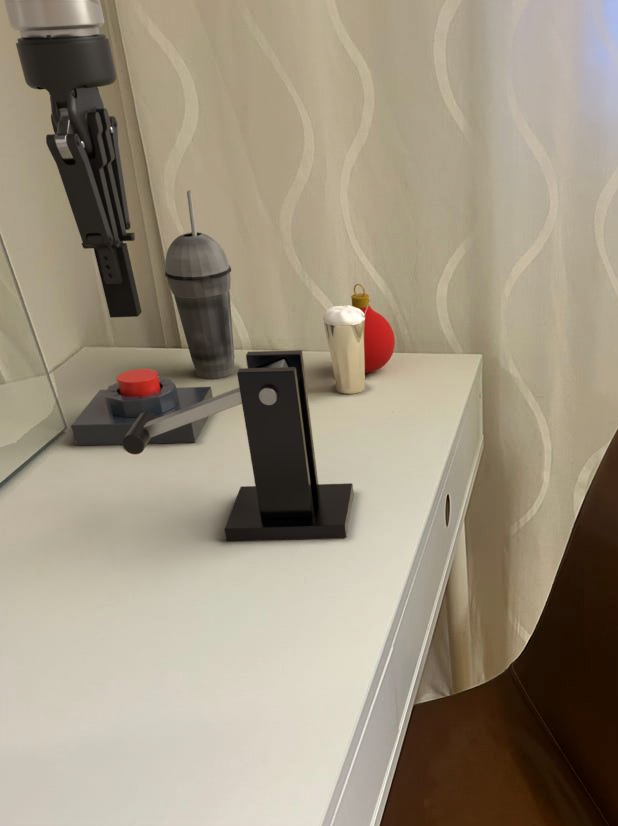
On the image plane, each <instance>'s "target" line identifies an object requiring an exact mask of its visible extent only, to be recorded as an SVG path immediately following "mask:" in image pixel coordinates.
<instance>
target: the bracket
mask: <svg viewBox="0 0 618 826" xmlns="http://www.w3.org/2000/svg"><path fill="white" fill-rule="evenodd" d="M283 359H284V360H285V361H286V363H287V366H288V367H280V368H262V367H265V366H267V365H270V364H273V363H275V362H278V361H281V360H283ZM245 360H246V367H244V368H238V370H237V373H236V374H237V381H238V386H239V387H238V388H240V394H241V400H242V404H241V405H242V406H241V407H242V412H243V413H242V414H243V418H244V425H245V430H246V431H245V432H246V436H247V442H248V450H249V454H250V461H251V467H252V473H253V478H254V479H253V481H254V485H249V486H246V485H245V486H243V485H242V486H240V488H239V490H238V493H237V495H236V498H235V500H234V503H233V505H232V508H231V510H230V513H229V515H228V517H227V520H226V524H225V525H224V528H223V531H224V536H225V540H226V542H244V541H245V542H246V541H247V542H249V541H251V542H252V541H279V540H281V541H282V540H285V541H286V540H313V539H314V540H315V539H317V540H318V539H319V540H320V539H346V538H347V535H348V531H349V530H348V529H349V524H350V517H351V513H352V506H353V500H354V495H355V494H354V485H353V483H351V482H350V483H319V478H318V471H317V463H316V462H317V461H316V454H315V445H314V438H313V437H314V436H313V429H312V421H311V420H312V419H311V413H310V404H309V403H310V402H309V396H308V387H307V381H306V379H307V378H306V372H305V363H304V355H303V350H301V349H300V350H299V349H298V350H263V351H261V350H260V351H258V350H257V351H247V353H246V354H245Z"/></svg>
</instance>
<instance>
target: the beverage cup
mask: <svg viewBox="0 0 618 826" xmlns="http://www.w3.org/2000/svg"><path fill="white" fill-rule="evenodd" d="M186 197H187V205H188V212H189V220H190V221H189V223H190V229H191V231H189V232H185V233H182V234H180V235H179V236H177V237H176V238H174V239H173V241H172V242H171V243H170V245H169V247H168V248H167V251H166V255H165V259H164V260H165V261H164V262H165V263H164V267H165V268H164V269H165V272H164V277H166V278H167V282H168V286H169V289H170V291H171V293H172V294H173V297H174V300H175V305H176V308H177V311H178V315H179V319H180V322H181V326H182V329H183V333H184V337H185V340H186V344H187V348H188V351H189V355H190V358H191V362H192V363H193V367H194V369H195V374H196V376H197V377H199V378H202V379H209V380H210V379H211V380H214V379H221V378H226V377H229V376H231V375H233V374H234V373H235V372H236V367H235V348H234V347H235V345H234V334H233V331H234V330H233V321H232V319H233V318H232V305H231V292H230V290H231V272H232V268H231V265H230V264H229V263H230V262H229V259H228V257H227V254H226V252H225V250H224V248H223V247H222V246H221V244H219V242H218V241H216V240H215V239H214V237H213V238H212V237H211V236H210V235H208V234H206V233H203V232H199V231H197V226H196V216H195V209H194V200H193V194H192V190H186Z"/></svg>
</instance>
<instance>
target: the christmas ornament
mask: <svg viewBox="0 0 618 826" xmlns="http://www.w3.org/2000/svg"><path fill="white" fill-rule="evenodd" d="M357 286H359V287H361V289H362V293H357V291H356V287H357ZM353 293H354V294H352V295H351V296H350V298H351V306H353V307H356V308H358V309H360V310H361V311H362V312H363V313H364V314H365V311H366V309H367V306H368V303H369V300H370V295H369V293H366V291H365V288H364V285H363V284H361V283H357V284H355V285H354V287H353ZM395 344H396V338H395V333H394V330H393V327H392V326H391V324H390V323H389V321H388V320H387V319H386V318H385V317H384V316H383V315H382V314H381V313H379V312H377V311H375V310H374V309H373V308H372V307H371V304H370V303H369V306H368V309H367V312H366V315H365V344H364V357H365V374H367V373H373V372H377V371H379V370H380V369H382V368H383V367H384V366H386V364H388V362H389V361H391V358H392V356H393V353H394V350H395V347H396V346H395Z"/></svg>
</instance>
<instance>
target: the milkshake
mask: <svg viewBox="0 0 618 826" xmlns="http://www.w3.org/2000/svg"><path fill="white" fill-rule="evenodd" d="M370 303H371V299H370V298H369V303H368V306H370V305H369V304H370ZM368 306H367V309H368ZM367 309H366V311H365V314H364V313H363V312H362V311H361V310H360V309H358V308H356V307H353V306H352V305H350V304H347V305H334V306H331V307H329V308H328V309H327V310H326V311H325V312H324V314H323V317H322V321H323V326H324V332H325V336H326V341H327V345H328V349H329V352H330V354H329V355H330V360H331V365H332V370H333V376H334V382H335V387H336V391H337V392H338V393H341V394H345V395H346V394H348V395H353V394H358V393H361V392H363V391H364V390H365V389H366V375H365V374H366V373H365V357H364V344H365V315H366V312H367Z"/></svg>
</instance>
